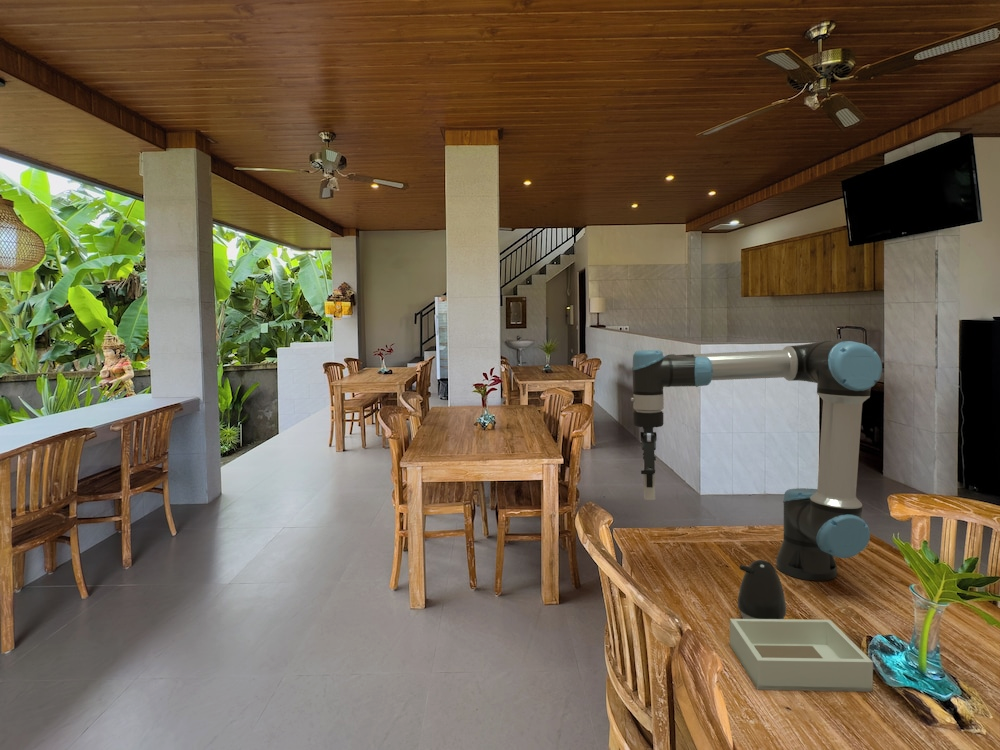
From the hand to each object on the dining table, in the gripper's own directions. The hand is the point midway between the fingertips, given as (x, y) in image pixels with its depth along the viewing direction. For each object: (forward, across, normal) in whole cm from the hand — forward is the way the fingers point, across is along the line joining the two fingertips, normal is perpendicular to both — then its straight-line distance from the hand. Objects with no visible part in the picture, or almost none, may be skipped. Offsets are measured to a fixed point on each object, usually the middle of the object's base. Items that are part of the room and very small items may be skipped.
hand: (649, 492), depth 149 cm
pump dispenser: (+27, +12, +25) cm, 39 cm away
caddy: (+27, +29, +28) cm, 48 cm away
